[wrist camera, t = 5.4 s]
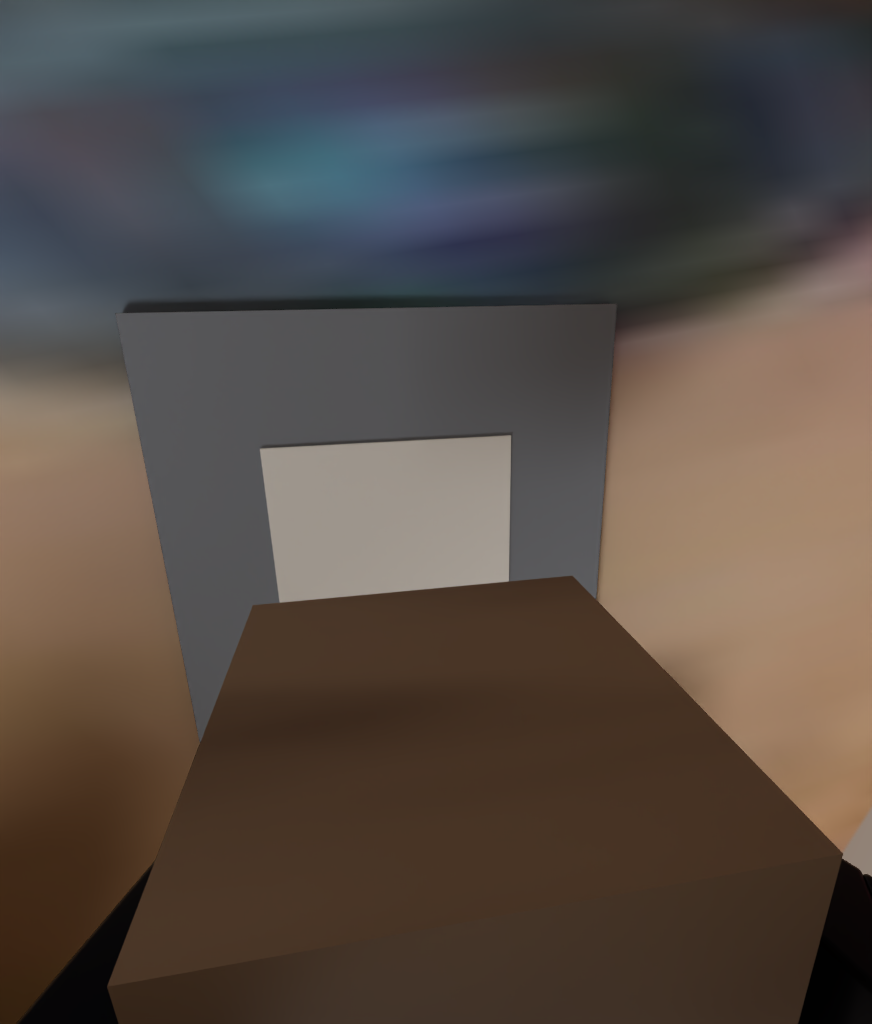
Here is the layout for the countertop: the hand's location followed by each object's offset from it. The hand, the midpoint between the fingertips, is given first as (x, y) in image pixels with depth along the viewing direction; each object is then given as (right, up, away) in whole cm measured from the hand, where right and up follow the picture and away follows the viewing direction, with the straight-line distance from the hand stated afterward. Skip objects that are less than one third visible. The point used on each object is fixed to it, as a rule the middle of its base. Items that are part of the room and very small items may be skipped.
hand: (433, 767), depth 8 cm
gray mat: (-1, +3, +8) cm, 9 cm away
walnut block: (0, 0, +1) cm, 1 cm away
